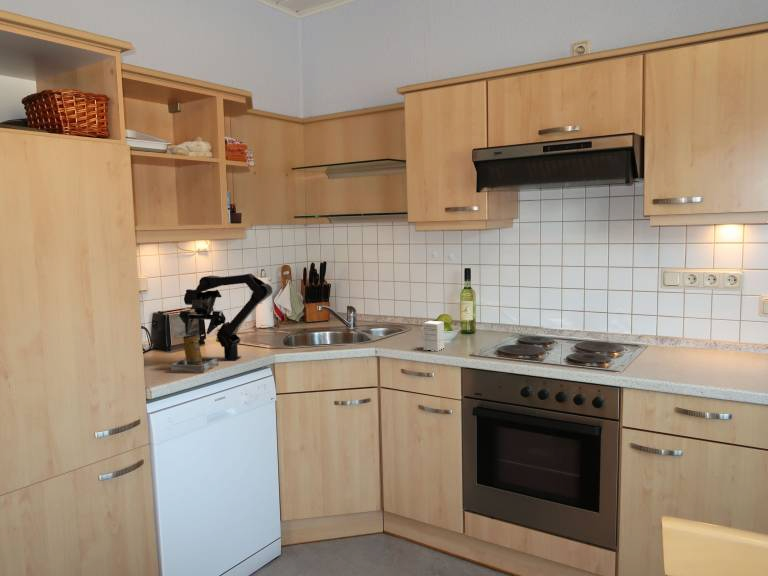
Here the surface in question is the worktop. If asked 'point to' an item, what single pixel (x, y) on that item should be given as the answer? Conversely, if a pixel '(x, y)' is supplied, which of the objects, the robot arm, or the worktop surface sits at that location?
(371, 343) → the worktop surface
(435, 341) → the supplement box
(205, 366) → the grey square frame
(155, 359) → the worktop surface
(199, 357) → the condiment
